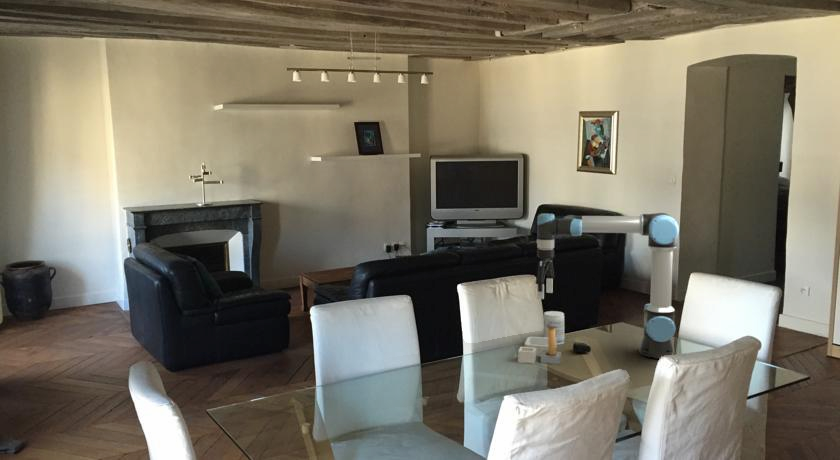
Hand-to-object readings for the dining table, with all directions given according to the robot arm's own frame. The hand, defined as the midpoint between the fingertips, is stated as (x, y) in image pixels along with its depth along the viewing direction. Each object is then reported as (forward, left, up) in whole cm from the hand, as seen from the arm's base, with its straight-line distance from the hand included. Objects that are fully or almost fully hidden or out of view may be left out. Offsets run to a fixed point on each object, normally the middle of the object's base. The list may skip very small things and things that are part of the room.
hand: (545, 295), depth 322 cm
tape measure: (-16, 0, -26) cm, 31 cm away
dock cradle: (+1, 0, -26) cm, 26 cm away
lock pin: (-4, +12, -26) cm, 29 cm away
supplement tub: (-3, -15, -26) cm, 31 cm away
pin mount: (-4, +12, -26) cm, 29 cm away
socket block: (+6, +14, -26) cm, 30 cm away
